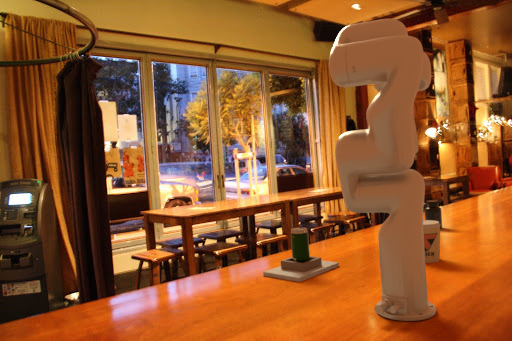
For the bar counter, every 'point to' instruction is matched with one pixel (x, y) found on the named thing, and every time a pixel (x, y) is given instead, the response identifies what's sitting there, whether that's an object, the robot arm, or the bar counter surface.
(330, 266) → the holder board
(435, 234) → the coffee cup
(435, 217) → the supplement bottle
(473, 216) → the bar counter surface
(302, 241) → the beer can
